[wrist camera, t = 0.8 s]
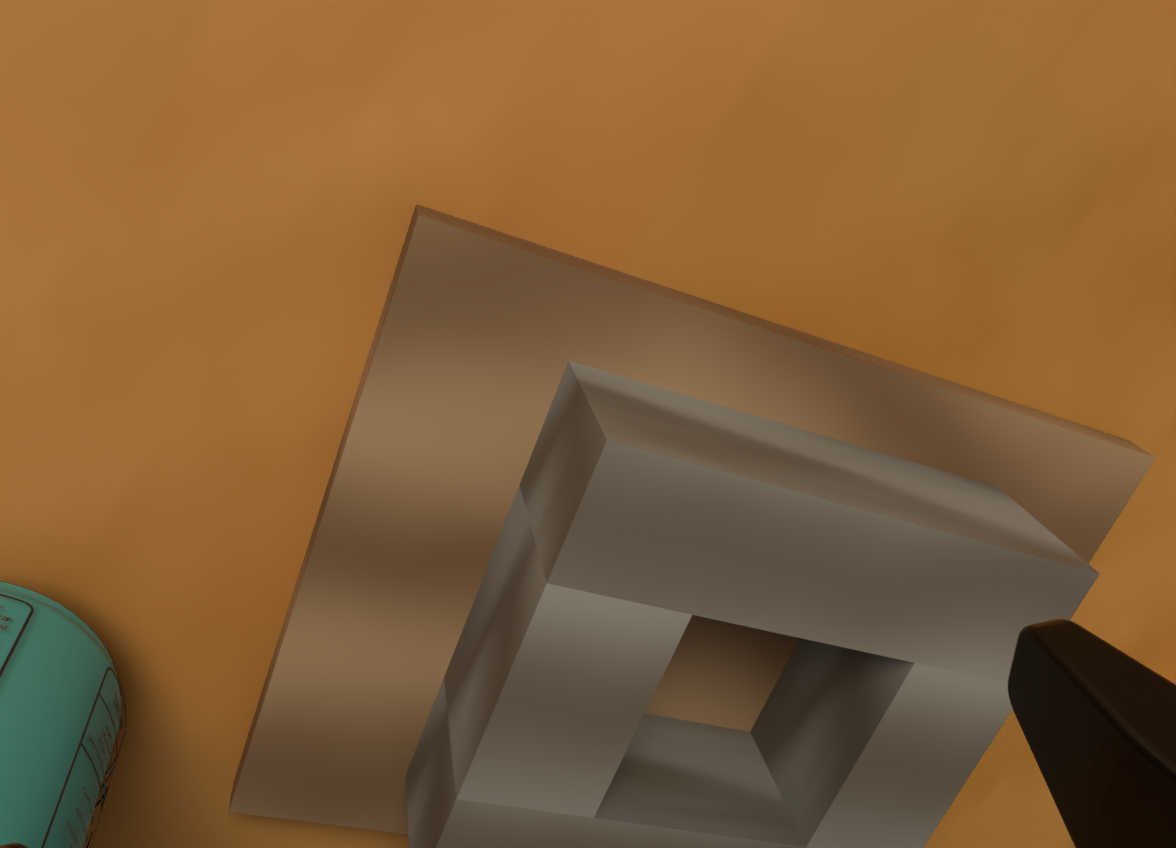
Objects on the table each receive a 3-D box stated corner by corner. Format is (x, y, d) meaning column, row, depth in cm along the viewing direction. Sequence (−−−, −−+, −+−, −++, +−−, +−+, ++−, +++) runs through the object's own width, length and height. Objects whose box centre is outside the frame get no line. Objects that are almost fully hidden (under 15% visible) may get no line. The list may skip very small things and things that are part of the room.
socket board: (864, 867, 32) (942, 1012, 28) (233, 782, 26) (205, 953, 22) (1129, 441, 27) (1278, 537, 23) (416, 204, 21) (428, 273, 16)
